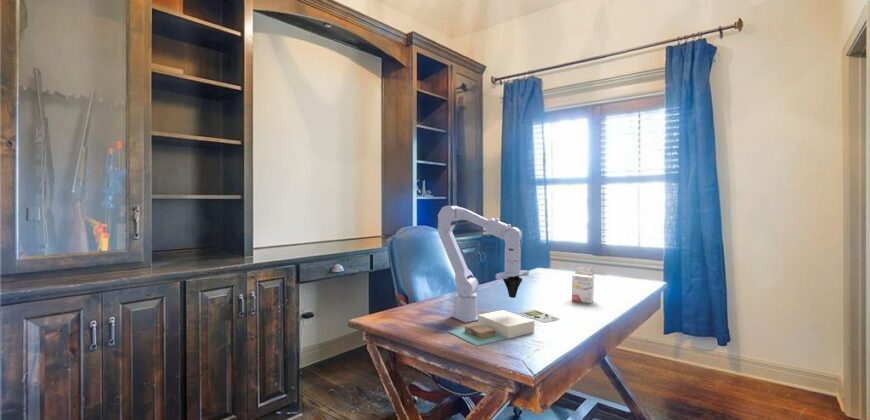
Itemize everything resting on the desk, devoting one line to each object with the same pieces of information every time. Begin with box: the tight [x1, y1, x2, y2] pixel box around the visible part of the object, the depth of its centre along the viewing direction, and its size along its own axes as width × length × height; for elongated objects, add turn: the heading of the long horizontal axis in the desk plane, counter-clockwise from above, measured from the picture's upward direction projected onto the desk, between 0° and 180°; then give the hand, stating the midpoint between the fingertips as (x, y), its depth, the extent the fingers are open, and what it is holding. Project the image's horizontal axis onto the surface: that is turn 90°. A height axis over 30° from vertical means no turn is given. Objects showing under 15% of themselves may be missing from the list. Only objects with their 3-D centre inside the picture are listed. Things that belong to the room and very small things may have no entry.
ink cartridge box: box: [571, 266, 595, 304], centre depth 185 cm, size 9×5×15 cm, turn 58°
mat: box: [448, 327, 508, 347], centre depth 139 cm, size 16×13×1 cm
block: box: [464, 322, 496, 339], centre depth 140 cm, size 9×6×2 cm, turn 33°
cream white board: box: [477, 309, 535, 340], centre depth 146 cm, size 16×12×4 cm
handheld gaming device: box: [518, 309, 560, 323], centre depth 162 cm, size 9×1×15 cm
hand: (512, 297), depth 151 cm, fingers closed
